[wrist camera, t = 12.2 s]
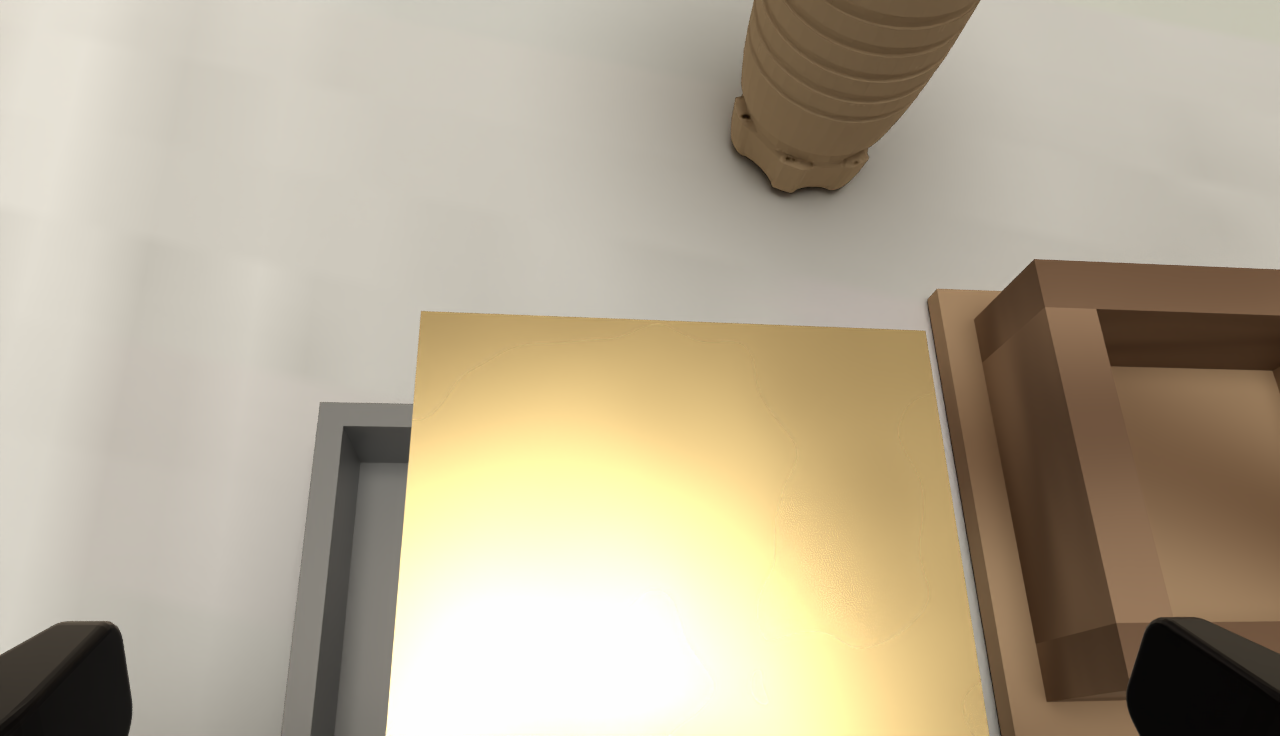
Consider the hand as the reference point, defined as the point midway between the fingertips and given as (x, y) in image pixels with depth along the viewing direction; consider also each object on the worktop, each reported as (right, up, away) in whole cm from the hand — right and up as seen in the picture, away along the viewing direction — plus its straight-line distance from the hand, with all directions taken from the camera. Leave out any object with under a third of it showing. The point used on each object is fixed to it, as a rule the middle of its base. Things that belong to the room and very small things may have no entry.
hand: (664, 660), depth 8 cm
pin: (-1, -3, +7) cm, 8 cm away
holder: (+11, 0, +11) cm, 15 cm away
